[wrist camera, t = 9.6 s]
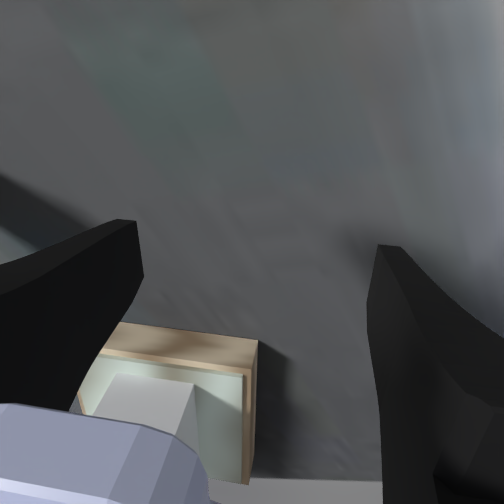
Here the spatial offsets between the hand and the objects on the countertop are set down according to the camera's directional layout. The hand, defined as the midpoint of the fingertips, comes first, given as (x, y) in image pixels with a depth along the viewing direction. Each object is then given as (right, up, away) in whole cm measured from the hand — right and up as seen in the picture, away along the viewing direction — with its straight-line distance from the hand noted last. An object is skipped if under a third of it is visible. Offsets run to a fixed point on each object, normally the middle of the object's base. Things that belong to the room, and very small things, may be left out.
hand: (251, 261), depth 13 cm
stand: (-6, -10, +18) cm, 21 cm away
